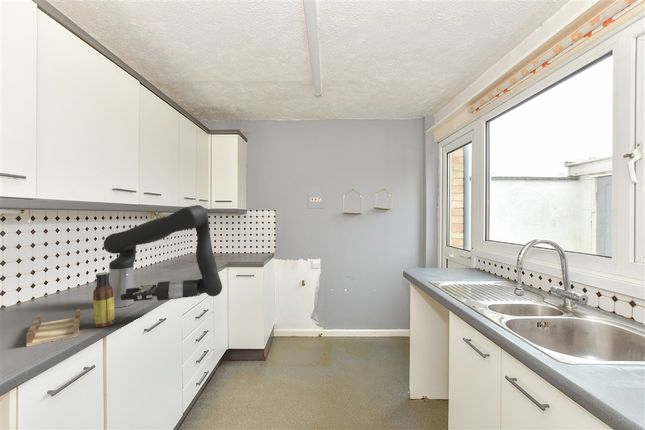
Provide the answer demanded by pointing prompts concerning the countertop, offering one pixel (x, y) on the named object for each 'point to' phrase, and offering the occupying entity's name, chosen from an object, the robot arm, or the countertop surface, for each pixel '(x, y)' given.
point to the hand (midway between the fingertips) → (123, 294)
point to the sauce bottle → (103, 301)
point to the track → (53, 330)
